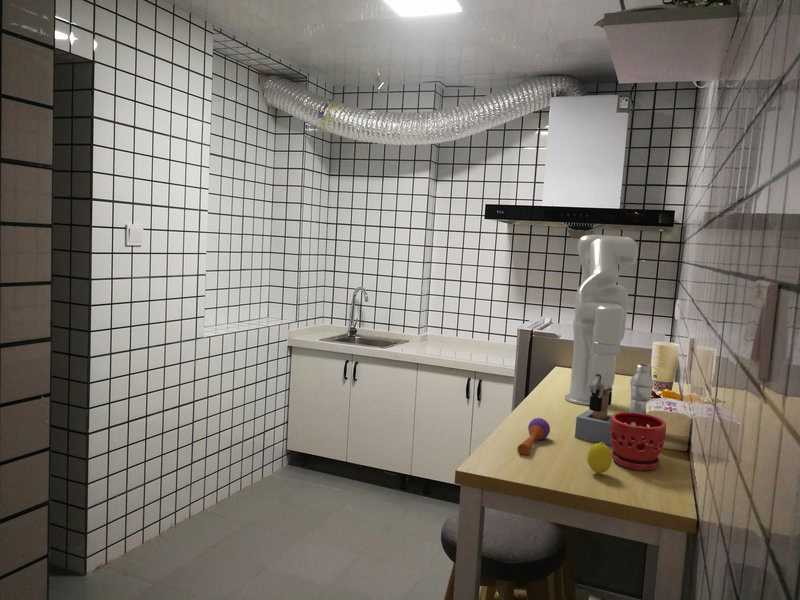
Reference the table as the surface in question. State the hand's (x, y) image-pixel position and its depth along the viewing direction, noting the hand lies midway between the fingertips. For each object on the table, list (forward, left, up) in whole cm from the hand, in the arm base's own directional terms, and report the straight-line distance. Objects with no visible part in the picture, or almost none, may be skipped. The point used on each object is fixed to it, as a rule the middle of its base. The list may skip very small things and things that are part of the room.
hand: (600, 407), depth 175 cm
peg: (0, 0, -7) cm, 7 cm away
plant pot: (+16, +14, -9) cm, 23 cm away
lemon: (+30, +9, -9) cm, 33 cm away
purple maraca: (+21, -12, -9) cm, 25 cm away
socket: (0, 0, -9) cm, 9 cm away
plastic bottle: (-18, +7, -9) cm, 21 cm away
